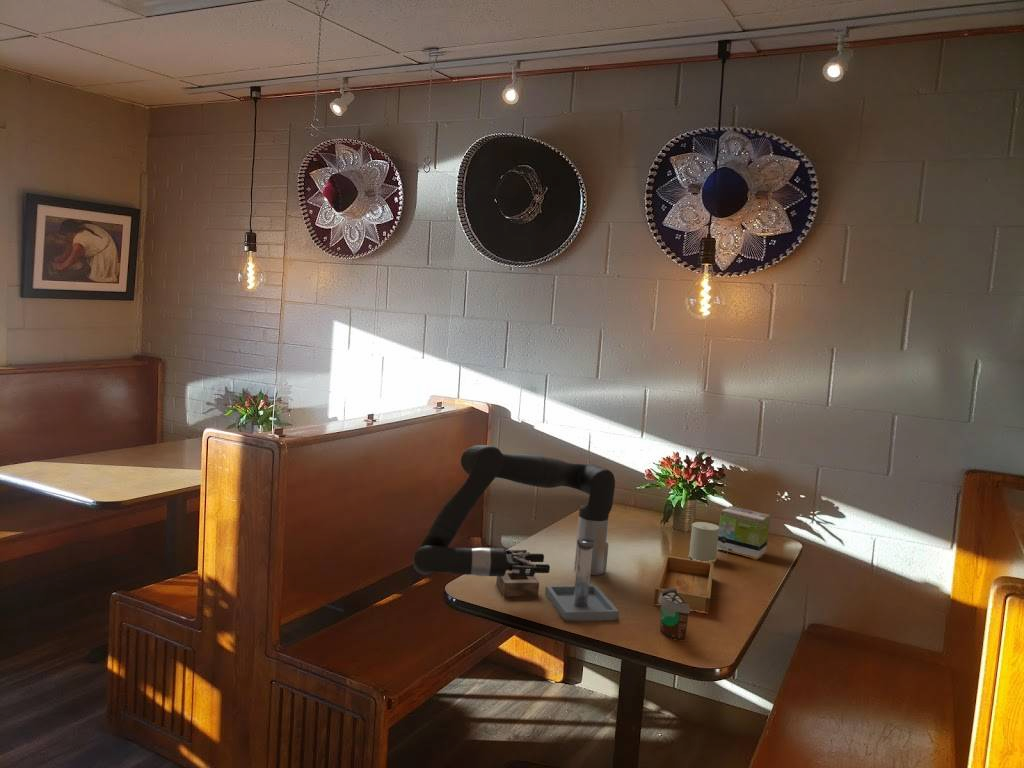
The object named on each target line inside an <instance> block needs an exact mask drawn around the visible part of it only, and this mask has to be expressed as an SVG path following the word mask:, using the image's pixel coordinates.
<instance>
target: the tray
mask: <svg viewBox="0 0 1024 768" xmlns="http://www.w3.org/2000/svg"><path fill="white" fill-rule="evenodd" d="M664 556H665V557H664V559H663V562H662V563H663V564H662V566H661V569H660V573H659V575H658V579H657V582H656V584H655V588H654V597H653V600H654V601H653V605H654V604H660V603H659V601H658V600H659V597H660V594H661V593H662V591H663V590H665V589H670V588H677V593H678V595H679V596H680V597H682V598H683V600H684V602H685V604H686V605H690V609H692V610H698V611H705V612H709V611H710V604H711V603H710V602H711V594H712V584H713V583H712V582H713V577H714V576H713V575H714V567H715V566H714V565H715V562H714V563H709V562H703V561H697V560H691V559H690V558H684V557H677V556H672V555H671V556H670V555H664ZM704 593H705V594H706V596H705V595H703V596H701V595H700V594H704Z"/></svg>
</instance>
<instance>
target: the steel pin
mask: <svg viewBox="0 0 1024 768" xmlns="http://www.w3.org/2000/svg"><path fill="white" fill-rule="evenodd" d="M594 543H595V542H594V541H593V540H590V539H578V540H577V539H576V544H577V545H578V553H577V564H576V570H575V579H574V585H575V588H574V600H573V605H574V606H576V607H587V606H588V596H589V585H591V584H590V580H591V575H590V572H591V561H592V549H593V547H594Z"/></svg>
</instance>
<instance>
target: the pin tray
mask: <svg viewBox="0 0 1024 768" xmlns="http://www.w3.org/2000/svg"><path fill="white" fill-rule="evenodd" d="M574 588H575V584H570V585H569V584H568V585H567V584H566V585H565V584H560V585H559V584H557V585H556V584H555V585H554V584H553V585H545V593H544V594H545V596H546V597H547V599H548V600H549V601H550V603H551V602H552V603H551V604H552V606H553V607H554V609H555V608H556V609H555V610H556V611H557V613H558V614H559V616H560V617H561V618H562V620H563V622H564V623H565V622H598V621H602V622H603V620H605V621H606V620H607V621H619V618H620V617H619V616H620V611H619V609H618V608H617V607H616V605H614V604H613V603H612V601H611V600H610V599H609V598H608V597H607V596H606V595H605V594H604V593H603V591H602V590H601V589H600V588H599V587H598V585H596V584H589V596H588V606H587V607H576V606H574V605H573V600H574ZM605 621H604V622H605Z"/></svg>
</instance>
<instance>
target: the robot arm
mask: <svg viewBox="0 0 1024 768" xmlns="http://www.w3.org/2000/svg"><path fill="white" fill-rule="evenodd" d="M460 464H461V467H462V469H463V471H464V472H465V473H466V474H467V475H468V477H467V479H466V480H465V482H464V483H463V485H462V486H460V488H459V489H458V490H457V491H456V493H455V494H453V496H452V497H450V498H449V499H448V500H447V501H446V503H445V504H444V505H443V506H442V507H441V509H440V511H439V512H438V514H437V515H436V517H435V518H434V521H433V523H432V524H431V525H430V528H429V530H428V533H427V535H426V536H425V538H424V540H423V541H422V543H421V544H420V546H419V547H418V549H416V551H415V553H414V555H413V557H412V566H413V568H414V570H415V571H416V572H417V573H418V574H420V575H423V576H427V575H431V574H433V573H451V574H453V575H470V576H478V577H497V576H504V575H505V573H506V571H507V570H509V571H512V575H513V576H531V577H533V576H535V574H549V573H550V570H551V569H550V564H545V563H544V562H545V561H544V560H545V555H544V553H531V552H530V551H528V550H526V549H505V548H504V547H481V546H480V547H449V546H450V544H451V543H452V541H454V539H455V537H456V535H457V534H458V532H459V530H460V529H461V527H462V525H463V523H465V522H464V521H465V520H466V518H467V516H468V515H469V514H470V512H471V511H472V509H473V507H474V506H475V505H476V503H477V502H478V500H479V499H480V498H481V497H482V495H483V494H484V492H485V491H486V490H487V489H488V487H489V486H490V485H491V483H492V482H493V481H494V480H495V479H504V480H508V481H511V482H514V483H519V484H522V485H526V486H532V487H535V488H536V487H538V488H544V489H551V488H552V489H553V488H559V487H566V488H570V489H571V488H572V489H575V490H578V491H581V492H583V493H586V494H587V495H589V498H588V502H587V504H583V505H581V506H580V507H579V510H578V511H579V512H578V521H577V522H578V523H577V534H576V535H577V536H576V541H577V540H578V539H590V540H593V541H594V542H595V543H594V547H593V549H592V561H591V572H590V576H598V575H601V574H606V573H607V566H608V553H609V543H608V541H607V538H608V528H609V517H610V516H609V515H610V513H611V511H612V510H613V509H612V507H613V505H614V503H613V502H614V495H615V488H616V479H615V475H614V473H613V472H612V471H611V470H610V469H608V468H605V467H602V466H599V465H596V464H591V463H571V462H570V463H569V462H566V461H563V460H561V459H558V458H553V457H549V456H546V455H545V456H544V455H539V454H530V453H506V452H505V453H504V452H501V450H500V449H499V448H498V447H496V446H494V445H489V444H487V445H486V444H480V445H479V444H477V445H473V446H470V447H469V448H466V449H465V451H463V453H462V455H461V458H460ZM575 547H576V548H575V555H574V556H575V557H574V570H575V571H576V564H577V553H578V545H577V543H576V546H575ZM543 563H544V564H543Z"/></svg>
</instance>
